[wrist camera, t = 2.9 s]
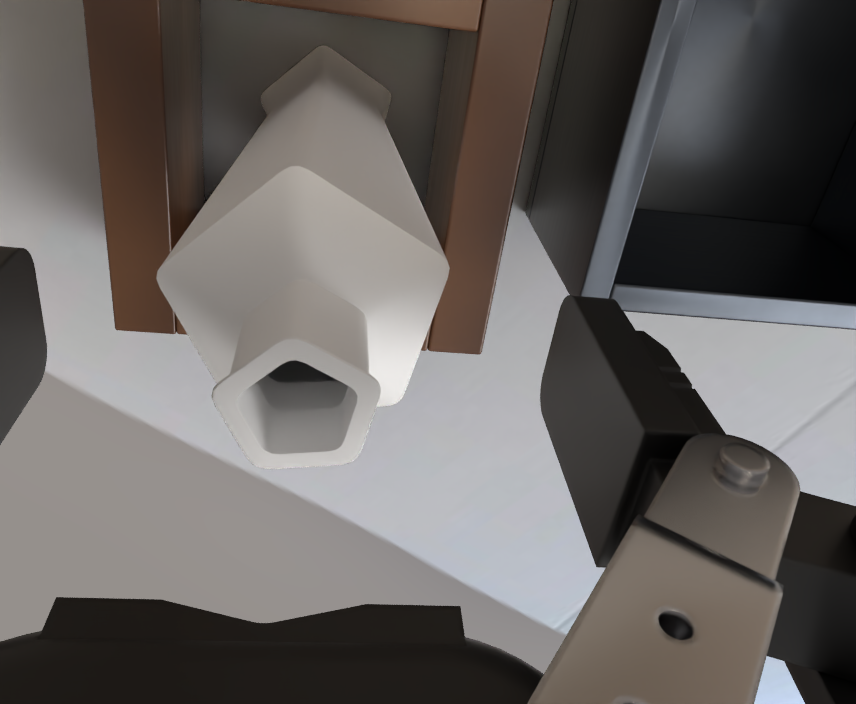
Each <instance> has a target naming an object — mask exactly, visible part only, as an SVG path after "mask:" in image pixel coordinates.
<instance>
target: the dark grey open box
mask: <svg viewBox="0 0 856 704" xmlns="http://www.w3.org/2000/svg"><path fill="white" fill-rule="evenodd" d="M526 215H527V217H528V219H529V221H530V223H531V225H532V227H533V228H534V230H535V232H536V234H537V236H538V238H539V239H540V241H541V243H542V245H543V247H544V249H545V250H546V252H547V254H548V256H549V258H550V260H551V261H552V263H553V265H554V267H555V269H556V270H557V272H558V274H559V276H560V278H561V280H562V281H563V283H564V285H565V287H566V289H567V291H568V292H569V294H570V295H572V296H584V297H596V298H608V299H614V300H616V301H617V302H618V304H619V306H620V307H621V309H622V310H623V311H627V312H640V313H652V314H665V315H677V316H690V317H703V318H715V319H728V320H740V321H753V322H765V323H778V324H791V325H803V326H816V327H828V328H841V329H854V330H856V0H572V1H571V6H570V10H569V15H568V19H567V24H566V29H565V33H564V38H563V43H562V47H561V52H560V56H559V61H558V66H557V70H556V75H555V80H554V84H553V89H552V93H551V98H550V103H549V107H548V112H547V117H546V121H545V126H544V130H543V135H542V140H541V144H540V149H539V154H538V158H537V163H536V167H535V172H534V177H533V181H532V186H531V191H530V195H529V200H528V205H527V209H526Z"/></svg>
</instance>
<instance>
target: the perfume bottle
mask: <svg viewBox="0 0 856 704" xmlns="http://www.w3.org/2000/svg"><path fill="white" fill-rule="evenodd" d="M261 103H262V106H263V108H264V110H265V113H266V115H267V117H266V118H265V120H264V121H263V122H262V124H261V125H260V127H259V128H258V129H257V131H256V132H255V134H254V135H253V137H252V138H251V139H250V141H249V142H248V144H247V145H246V146H245V148H244V149H243V151H242V152H241V154H240V155H239V156H238V158H237V159H236V161H235V162H234V163H233V165H232V166H231V168H230V169H229V170H228V172H227V173H226V175H225V176H224V178H223V179H222V180H221V182H220V183H219V185H218V186H217V187H216V189H215V190H214V192H213V193H212V195H211V196H210V197H209V199H208V200H207V202H206V203H205V204H204V206H203V207H202V209H201V210H200V211H199V213H198V214H197V216H196V217H195V219H194V220H193V221H192V223H191V224H190V226H189V227H188V228H187V230H186V231H185V233H184V234H183V236H182V237H181V238H180V240H179V241H178V243H177V244H176V245H175V247H174V248H173V250H172V251H171V252H170V254H169V255H168V257H167V258H166V260H165V261H164V262H163V264H162V265H161V267H160V268H159V269H158V271H157V278H156V279H157V282H158V284H159V287H160V289H161V291H162V292H163V294H164V296H165V297H166V299H167V301H168V302H169V304H170V306H171V307H172V309H173V311H174V312H175V314H176V316H177V317H178V319H179V321H180V323H181V324H182V326H183V328H184V329H185V331H186V333H187V334H188V336H189V338H190V339H191V341H192V343H193V344H194V346H195V348H196V349H197V351H198V353H199V355H200V356H201V358H202V360H203V361H204V363H205V365H206V366H207V368H208V370H209V371H210V373H211V375H212V376H213V378H214V380H215V381H216V383H217V385H216V386H215V387H214V388H213V393H212V399H213V402H214V404H215V407H216V408H217V410H218V412H219V413H220V415H221V417H222V418H223V420H224V422H225V423H226V425H227V426H228V428H229V430H230V431H231V433H232V435H233V436H234V438H235V440H236V441H237V443H238V445H239V446H240V448H241V449H242V451H243V453H244V454H245V456H246V457H247V459H248V460H249V461H250V462H251V463H252V464H253V465H255V466H257V467H259V468H263V469H283V468H300V467H318V466H335V465H343V464H348V463H350V462H352V461H353V460H355V459H356V458H357V457H358V455H359V453H360V452H361V450H362V447H363V445H364V442H365V439H366V436H367V433H368V430H369V428H370V425H371V422H372V419H373V416H374V413H375V411H376V408H377V407H381V406H389V405H394V404H396V403H397V402H399V401H400V400H401V399H402V397H403V396H404V394H405V391H406V389H407V386H408V383H409V381H410V378H411V375H412V373H413V370H414V367H415V364H416V362H417V359H418V356H419V354H420V351H421V348H422V346H423V343H424V340H425V338H426V335H427V332H428V330H429V327H430V324H431V322H432V319H433V316H434V313H435V311H436V308H437V305H438V303H439V300H440V297H441V295H442V292H443V289H444V287H445V284H446V281H447V279H448V275H449V269H450V267H449V264H448V261H447V259H446V257H445V255H444V252H443V250H442V248H441V246H440V243H439V241H438V239H437V237H436V235H435V232H434V230H433V228H432V226H431V223H430V221H429V219H428V217H427V215H426V212H425V210H424V208H423V206H422V204H421V201H420V199H419V197H418V195H417V192H416V190H415V188H414V186H413V184H412V181H411V179H410V177H409V175H408V173H407V170H406V168H405V166H404V164H403V161H402V159H401V157H400V155H399V153H398V150H397V148H396V146H395V144H394V141H393V139H392V137H391V135H390V133H389V130H388V128H387V126H386V124H385V120H386V117H387V113H388V110H389V106H390V103H391V94H390V92H389V91H388V90H387V89H386V88H385V87H384V86H382V85H381V84H379V83H378V82H377V81H375V80H374V79H373V78H371V77H370V76H368V75H367V74H366V73H364V72H363V71H361V70H360V69H359V68H357V67H356V66H355V65H353V64H352V63H350V62H349V61H348V60H346V59H345V58H343V57H342V56H341V55H339V54H338V53H337V52H335V51H334V50H332V49H331V48H329V47H327V46H319V47H317V48H315V49H314V50H313V51H312V52H310V53H309V54H308V55H307V56H306V57H304V58H303V59H302V60H301V61H300V62H298V63H297V64H296V65H295V66H294V67H292V68H291V69H290V70H289V71H288V72H286V73H285V74H284V75H283V76H282V77H280V78H279V79H278V80H277V81H275V82H274V83H273V84H272V85H271V86H269V87H268V88H267V89H266V90H265V91H264V92H263V93H262V94H261Z"/></svg>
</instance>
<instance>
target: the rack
mask: <svg viewBox="0 0 856 704" xmlns="http://www.w3.org/2000/svg"><path fill="white" fill-rule="evenodd" d="M239 1H247V2H254V3H262V4H269V5H276V6H284V7H291V8H299V9H306V10H314V11H321V12H328V13H336V14H343V15H351V16H358V17H365V18H373V19H380V20H388V21H395V22H403V23H410V24H417V25H425V26H432V27H440V28H447V29H449V36H448V43H447V50H446V57H445V65H444V72H443V79H442V86H441V93H440V100H439V107H438V115H437V122H436V129H435V136H434V143H433V150H432V157H431V164H430V172H429V179H428V186H427V193H426V200H425V207H424V210H425V212H426V215H427V217H428V219H429V221H430V223H431V226H432V228H433V230H434V232H435V235H436V237H437V239H438V241H439V243H440V246H441V248H442V250H443V252H444V255H445V257H446V259H447V261H448V264H449V267H450V269H449V275H448V279H447V281H446V284H445V287H444V289H443V292H442V295H441V297H440V300H439V303H438V305H437V308H436V311H435V313H434V316H433V319H432V322H431V324H430V327H429V330H428V332H427V335H426V338H425V340H424V343H423V346H422V348H421V350H422V351H425V350H427V348H428V350H429V351H437V352H451V353H466V354H481V352H482V348H483V343H484V338H485V334H486V329H487V324H488V319H489V314H490V309H491V304H492V299H493V294H494V290H495V285H496V280H497V275H498V270H499V265H500V260H501V255H502V250H503V246H504V241H505V236H506V231H507V226H508V221H509V216H510V211H511V206H512V202H513V197H514V192H515V187H516V182H517V177H518V172H519V167H520V162H521V158H522V153H523V148H524V143H525V138H526V133H527V128H528V123H529V118H530V114H531V109H532V104H533V99H534V94H535V89H536V84H537V79H538V74H539V70H540V65H541V60H542V55H543V50H544V45H545V40H546V35H547V30H548V26H549V21H550V16H551V11H552V6H553V1H554V0H239ZM83 6H84V16H85V26H86V37H87V47H88V57H89V67H90V77H91V87H92V98H93V108H94V118H95V128H96V138H97V148H98V159H99V169H100V179H101V189H102V199H103V209H104V220H105V230H106V240H107V250H108V260H109V270H110V281H111V291H112V301H113V311H114V321H115V329H116V330H123V331H138V332H152V333H167V334H175V333H176V331H177V333H178V334H187V333H186V331H185V329H184V328H183V326H182V324H181V323H180V321H179V319H178V317H177V316H176V314H175V312H174V311H173V309H172V307H171V306H170V304H169V302H168V301H167V299H166V297H165V296H164V294H163V292H162V291H161V289H160V287H159V284H158V282H157V279H156V278H157V271H158V269H159V268H160V267H161V265H162V264H163V262H164V261H165V260H166V258H167V257H168V255H169V254H170V252H171V251H172V250H173V248H174V247H175V245H176V244H177V243H178V241H179V240H180V238H181V237H182V236H183V234H184V233H185V231H186V230H187V228H188V227H189V226H190V224H191V223H192V221H193V220H194V219H195V217H196V216H197V214H198V213H199V211H200V210H201V209H202V207H203V206H204V172H203V130H202V87H201V44H200V1H199V0H83Z"/></svg>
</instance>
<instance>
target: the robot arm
mask: <svg viewBox="0 0 856 704" xmlns="http://www.w3.org/2000/svg"><path fill="white" fill-rule="evenodd" d="M46 359H47V343H46V336H45V330H44V323H43V317H42V311H41V304H40V298H39V292H38V285H37V279H36V273H35V267H34V263H33V259H32V257H31V255H30V253H29V252H28V251H27V250H26V249H24V248H14V247H2V246H0V444H1V443H2V441H3V440H4V438H5V436H6V435H7V433H8V432H9V430H10V429H11V427H12V425H13V424H14V423H15V421H16V420H17V418H18V417H19V415H20V413H21V412H22V410H23V409H24V407H25V406H26V404H27V403H28V401H29V400H30V398H31V397H32V395H33V394H34V392H35V390H36V389H37V387H38V386H39V384H40V382H41V380H42V378H43V375H44V371H45V366H46ZM540 402H541V411H542V415H543V418H544V421H545V424H546V427H547V430H548V432H549V435H550V438H551V441H552V444H553V446H554V449H555V452H556V455H557V458H558V460H559V463H560V466H561V469H562V472H563V474H564V477H565V480H566V483H567V486H568V488H569V491H570V494H571V497H572V500H573V502H574V505H575V508H576V511H577V514H578V516H579V519H580V522H581V525H582V528H583V530H584V533H585V536H586V539H587V542H588V544H589V547H590V550H591V553H592V556H593V558H594V561H595V564H596V567H606V569H605V570H604V572H603V574H602V576H601V577H600V579H599V581H598V582H597V584H596V586H595V588H594V589H593V591H592V593H591V594H590V596H589V598H588V600H587V601H586V603H585V605H584V606H583V608H582V610H581V612H580V613H579V615H578V617H577V619H576V620H575V622H574V624H573V625H572V627H571V629H570V631H569V632H568V634H567V636H566V638H565V639H564V641H563V643H562V644H561V646H560V648H559V650H558V651H557V653H556V655H555V657H554V658H553V660H552V661H551V663H550V665H549V667H548V668H547V670H546V672H545V673H544V674H543V673H541V672H540V671H538V670H536V669H535V668H534V667H532V666H530V665H529V664H527V663H526V662H524V661H522V660H521V659H519V658H517V657H515V656H513V655H511V654H509V653H507V652H505V651H503V650H501V649H499V648H496V647H493V646H491V645H488V644H485V643H482V642H480V641H477V640H473V639H469V638H466V637H465V636H464V629H463V622H462V615H461V608H460V606H424V605H421V606H420V605H379V604H378V605H377V604H365V605H360V606H355V607H350V608H346V609H340V610H335V611H330V612H325V613H320V614H315V615H309V616H304V617H299V618H295V619H289V620H284V621H279V622H274V623H254V622H250V621H246V620H242V619H238V618H233V617H229V616H226V615H222V614H217V613H213V612H209V611H205V610H201V609H197V608H193V607H189V606H185V605H181V604H177V603H173V602H169V601H164V600H154V599H151V600H149V599H109V598H106V599H105V598H63V597H57V598H56V599H55V602H54V605H53V606H52V609H51V611H50V613H49V616H48V618H47V620H46V623H45V625H44V627H43V630H42V631H40V632H35V633H31V634H26V635H22V636H19V637H15V638H12V639H8V640H5V641H1V642H0V704H754V701H755V697H756V693H757V690H758V686H759V682H760V678H761V675H762V671H763V667H764V663H765V660H766V656H769V657H773V658H776V659H779V660H783V661H785V663H786V666H787V668H788V670H789V672H790V674H791V676H792V678H793V680H794V682H795V684H796V686H797V688H798V690H799V692H800V694H801V696H802V698H803V700H804V702H805V704H856V506H852V505H849V504H845V503H841V502H837V501H833V500H830V499H826V498H822V497H818V496H815V495H811V494H807V493H804V492H801V491H800V485H799V482H798V479H797V477H796V475H795V474H794V473H793V471H792V470H791V469H790V468H789V467H788V465H787V464H786V463H785V462H783V461H782V460H781V459H780V458H779V457H777V456H776V455H775V454H773V453H772V452H770V451H769V450H767V449H765V448H763V447H762V446H759V445H757V444H755V443H753V442H751V441H748V440H745V439H743V438H739V437H736V436H732V435H726V434H725V432H724V431H723V429H722V428H721V426H720V425H719V423H718V422H717V420H716V419H715V418H714V416H713V415H712V413H711V412H710V410H709V409H708V407H707V406H706V404H705V403H704V402H703V400H702V399H701V397H700V396H699V394H698V393H697V391H696V390H695V389H692V384H691V383H690V381H689V380H688V378H687V377H686V375H685V374H684V373H682V372H681V368H680V366H679V365H678V364H677V362H676V361H675V359H674V358H673V356H672V355H671V353H670V352H669V350H668V349H667V348H665V347H664V346H663V345H661V344H660V343H659V342H657V341H656V340H655V339H653V338H652V337H651V336H649V335H648V334H647V333H645V332H644V331H635V329H634V327H633V326H632V324H631V323H630V321H629V320H628V318H627V316H626V315H625V313H624V312H623V310H622V309H621V307H620V306H619V304H618V302H617V301H616V300H614V299H608V298H596V297H584V296H572V295H568V296H567V297H566V298H565V299H564V300H563V302H562V305H561V307H560V311H559V314H558V318H557V322H556V326H555V330H554V334H553V338H552V342H551V346H550V349H549V353H548V357H547V361H546V365H545V369H544V373H543V377H542V382H541V393H540Z"/></svg>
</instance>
